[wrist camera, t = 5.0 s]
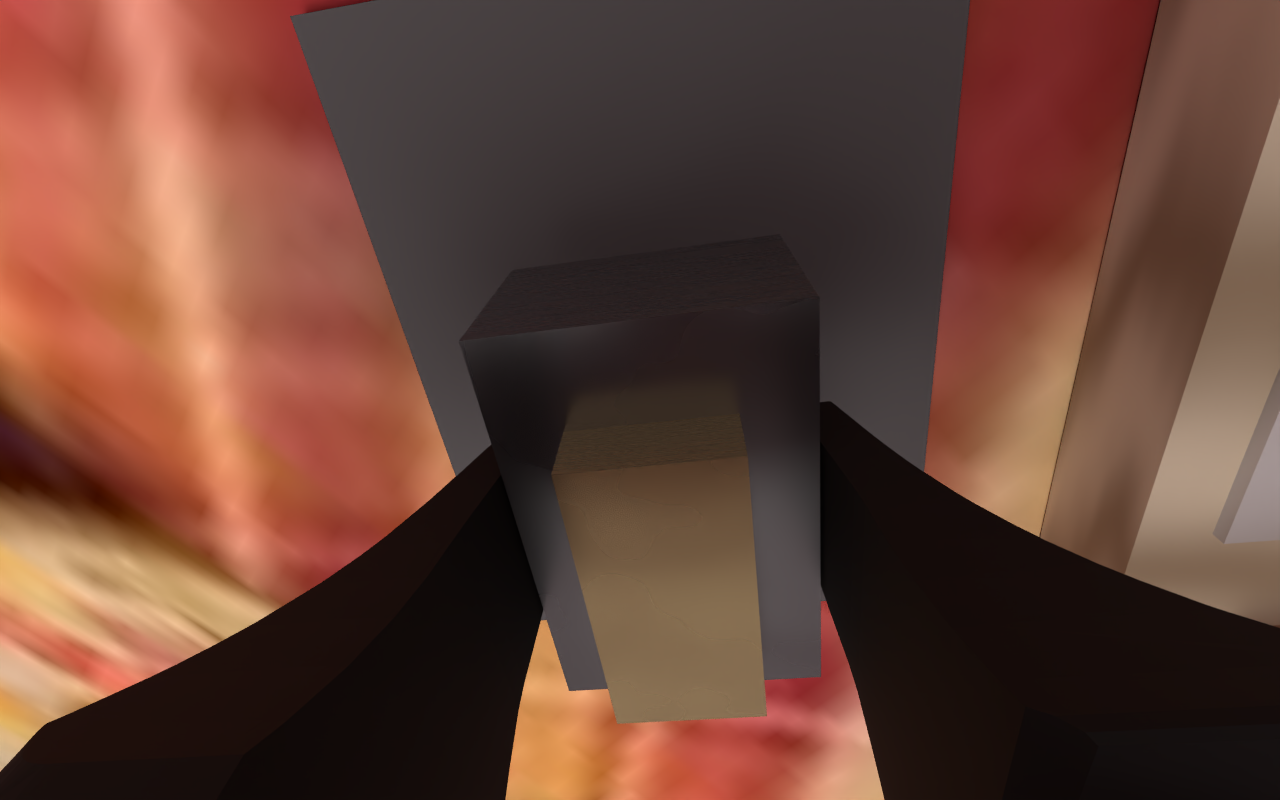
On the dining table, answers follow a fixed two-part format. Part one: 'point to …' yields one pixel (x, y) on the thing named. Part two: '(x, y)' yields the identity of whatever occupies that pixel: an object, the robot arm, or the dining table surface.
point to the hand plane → (1187, 328)
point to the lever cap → (664, 468)
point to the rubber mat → (655, 163)
